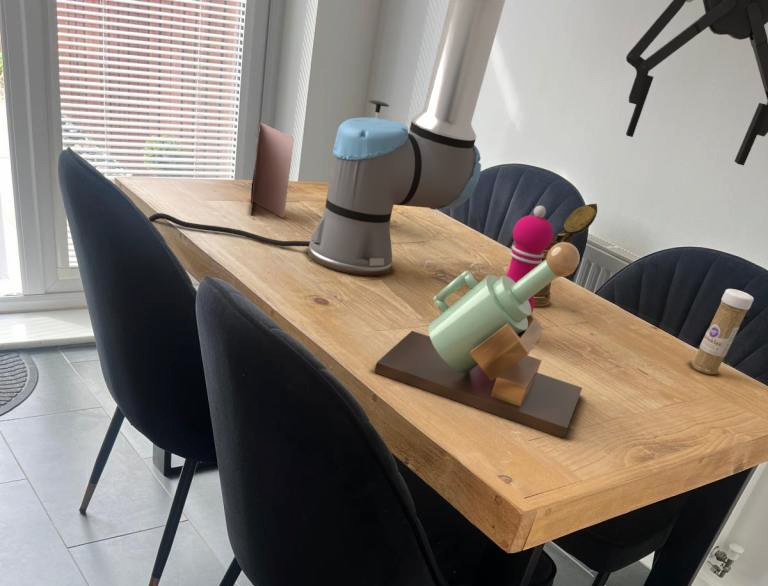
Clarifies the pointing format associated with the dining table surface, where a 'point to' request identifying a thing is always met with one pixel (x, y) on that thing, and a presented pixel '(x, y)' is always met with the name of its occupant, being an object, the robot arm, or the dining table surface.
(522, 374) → the oak rest
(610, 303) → the dining table surface
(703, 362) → the sprinkles bottle
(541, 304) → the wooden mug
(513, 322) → the jug
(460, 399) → the walnut board
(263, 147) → the greeting card
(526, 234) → the pepper mill
